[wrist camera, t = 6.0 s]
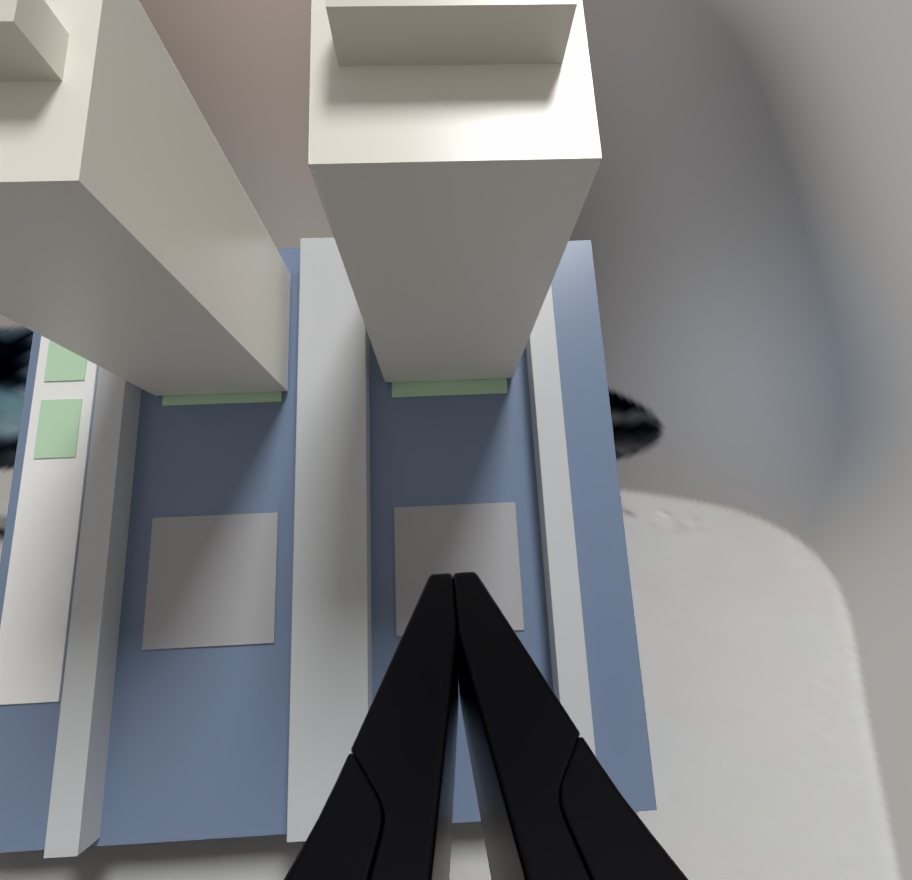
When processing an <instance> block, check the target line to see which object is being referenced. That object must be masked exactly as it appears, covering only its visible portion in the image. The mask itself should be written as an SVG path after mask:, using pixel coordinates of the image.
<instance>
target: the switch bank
mask: <svg viewBox="0 0 912 880" xmlns="http://www.w3.org/2000/svg"><path fill="white" fill-rule="evenodd" d="M277 250H278V252H279V254H280V255H281V257H282V259H283V261H284V263H285V264H286V266H287V268H288V270H289V272H290V273H291V284H290V320H289V357H288V391H281V392H253V393H225V394H197V395H169V396H154V395H153V394H151V393H149V392H147V391H145V390H143V389H141V388H139V387H137V386H136V385H134V384H132V383H130V382H128V381H126V380H124V379H122V378H121V377H119V376H117V375H115V374H113V373H111V372H109V371H107V370H105V369H104V368H102V367H100V366H98V365H96V364H94V363H92V362H90V361H88V360H87V359H85V358H83V357H81V356H79V355H77V354H75V353H73V352H71V351H70V350H68V349H66V348H64V347H62V346H60V345H58V344H56V343H54V342H53V341H51V340H49V339H47V338H45V337H43V336H41V335H39V334H38V333H36V332H34V333H33V340H32V347H31V354H30V361H29V368H28V375H27V382H26V389H25V396H24V403H23V410H22V417H21V423H20V430H19V437H18V444H17V451H16V458H15V465H14V472H13V479H12V486H11V493H10V500H9V507H8V513H7V520H6V527H5V534H4V541H3V548H2V555H1V562H0V853H4V852H19V851H35V850H44V858H57V857H72V856H78V855H80V854H81V853H82V852H83V851H84V850H85V849H87V848H88V847H96V846H112V845H127V844H142V843H158V842H173V841H188V840H204V839H219V838H234V837H250V836H265V835H280V834H287V842H300V841H306V840H307V838H308V836H309V834H310V832H311V831H312V829H313V827H314V825H315V823H316V821H317V820H318V818H319V816H320V814H321V812H322V809H323V807H324V805H325V803H326V801H327V799H328V797H329V795H330V793H331V791H332V789H333V787H334V785H335V783H336V781H337V778H338V776H339V774H340V772H341V770H342V767H343V765H344V763H345V761H346V759H347V756H348V755H349V754H352V752H351V748H352V746H353V744H354V741H355V739H356V737H357V735H358V733H359V730H360V728H361V726H362V724H363V721H364V719H365V717H366V715H367V713H368V710H369V708H370V706H371V704H372V701H373V699H374V697H375V695H376V693H377V690H378V688H379V686H380V684H381V682H382V679H383V677H384V675H385V673H386V670H387V668H388V666H389V664H390V662H391V659H392V657H393V655H394V653H395V650H396V648H397V646H398V644H399V642H400V639H401V637H402V635H403V633H404V631H405V628H406V626H407V624H408V622H409V619H410V617H411V615H412V613H413V611H414V608H415V606H416V604H417V602H418V599H419V597H420V595H421V593H422V591H423V588H424V586H425V584H426V582H427V580H428V578H429V576H430V575H432V574H442V573H450V574H452V576H454V574H455V573H459V572H475V573H476V574H477V575H478V576H479V577H480V579H481V581H482V582H483V584H484V585H485V587H486V588H487V590H488V591H489V593H490V594H491V596H492V598H493V599H494V601H495V602H496V604H497V605H498V607H499V608H500V610H501V611H502V613H503V615H504V616H505V618H506V619H507V621H508V622H509V624H510V625H511V627H512V628H513V630H514V632H515V633H516V635H517V636H518V638H519V639H520V641H521V642H522V644H523V645H524V647H525V649H526V650H527V652H528V653H529V655H530V656H531V658H532V659H533V661H534V662H535V664H536V666H537V667H538V669H539V670H540V672H541V673H542V675H543V676H544V678H545V679H546V681H547V683H548V684H549V686H550V687H551V689H552V690H553V692H554V693H555V695H556V696H557V698H558V700H559V701H560V703H561V704H562V706H563V707H564V709H565V710H566V712H567V713H568V715H569V717H570V718H571V720H572V721H573V723H574V724H575V726H576V727H577V729H578V730H579V732H580V736H579V737H583V738H584V739H585V741H586V742H587V744H588V745H589V747H590V749H591V750H592V752H593V753H594V755H595V756H596V758H597V759H598V761H599V762H600V764H601V765H602V767H603V768H604V770H605V771H606V773H607V774H608V775H609V777H610V778H611V780H612V781H613V783H614V784H615V786H616V787H617V789H618V790H619V791H620V793H621V794H622V796H623V797H624V798H625V800H626V801H627V802H628V804H629V805H630V806H631V807H632V809H633V810H634V811H649V810H657V809H656V800H655V791H654V783H653V774H652V765H651V757H650V748H649V739H648V731H647V722H646V713H645V705H644V696H643V687H642V679H641V670H640V662H639V653H638V644H637V636H636V627H635V618H634V610H633V601H632V592H631V584H630V575H629V566H628V558H627V549H626V540H625V532H624V523H623V514H622V506H621V497H620V489H619V480H618V471H617V463H616V454H615V445H614V437H613V428H612V419H611V411H610V402H609V393H608V385H607V377H606V368H605V359H604V350H603V342H602V333H601V324H600V316H599V307H598V298H597V290H596V281H595V273H594V264H593V256H592V246H591V241H590V240H589V241H588V240H586V241H568V243H567V246H566V248H565V251H564V253H563V256H562V258H561V261H560V263H559V266H558V268H557V270H556V273H555V275H554V278H553V280H552V283H551V285H550V288H549V290H548V293H547V295H546V298H545V300H544V303H543V305H542V307H541V310H540V312H539V315H538V317H537V320H536V322H535V325H534V327H533V330H532V332H531V335H530V337H529V340H528V342H527V344H526V347H525V349H524V352H523V354H522V357H521V359H520V362H519V364H518V367H517V369H516V372H515V374H514V377H513V378H494V379H466V380H438V381H410V382H385V381H384V378H383V375H382V372H381V369H380V367H379V364H378V361H377V358H376V355H375V352H374V349H373V347H372V344H371V341H370V338H369V335H368V332H367V330H366V327H365V324H364V321H363V318H362V315H361V313H360V310H359V307H358V304H357V301H356V298H355V295H354V293H353V290H352V287H351V284H350V281H349V278H348V276H347V273H346V270H345V267H344V264H343V261H342V258H341V256H340V253H339V250H338V247H337V244H336V241H335V239H334V238H302V239H301V248H280V249H277ZM458 691H459V684H458ZM480 821H481V817H480V812H479V806H478V800H477V795H476V789H475V784H474V778H473V772H472V767H471V761H470V755H469V750H468V744H467V739H466V733H465V727H464V722H463V716H462V710H461V703H460V695H459V707H458V728H457V746H456V764H455V782H454V800H453V818H452V823H464V822H480Z"/></svg>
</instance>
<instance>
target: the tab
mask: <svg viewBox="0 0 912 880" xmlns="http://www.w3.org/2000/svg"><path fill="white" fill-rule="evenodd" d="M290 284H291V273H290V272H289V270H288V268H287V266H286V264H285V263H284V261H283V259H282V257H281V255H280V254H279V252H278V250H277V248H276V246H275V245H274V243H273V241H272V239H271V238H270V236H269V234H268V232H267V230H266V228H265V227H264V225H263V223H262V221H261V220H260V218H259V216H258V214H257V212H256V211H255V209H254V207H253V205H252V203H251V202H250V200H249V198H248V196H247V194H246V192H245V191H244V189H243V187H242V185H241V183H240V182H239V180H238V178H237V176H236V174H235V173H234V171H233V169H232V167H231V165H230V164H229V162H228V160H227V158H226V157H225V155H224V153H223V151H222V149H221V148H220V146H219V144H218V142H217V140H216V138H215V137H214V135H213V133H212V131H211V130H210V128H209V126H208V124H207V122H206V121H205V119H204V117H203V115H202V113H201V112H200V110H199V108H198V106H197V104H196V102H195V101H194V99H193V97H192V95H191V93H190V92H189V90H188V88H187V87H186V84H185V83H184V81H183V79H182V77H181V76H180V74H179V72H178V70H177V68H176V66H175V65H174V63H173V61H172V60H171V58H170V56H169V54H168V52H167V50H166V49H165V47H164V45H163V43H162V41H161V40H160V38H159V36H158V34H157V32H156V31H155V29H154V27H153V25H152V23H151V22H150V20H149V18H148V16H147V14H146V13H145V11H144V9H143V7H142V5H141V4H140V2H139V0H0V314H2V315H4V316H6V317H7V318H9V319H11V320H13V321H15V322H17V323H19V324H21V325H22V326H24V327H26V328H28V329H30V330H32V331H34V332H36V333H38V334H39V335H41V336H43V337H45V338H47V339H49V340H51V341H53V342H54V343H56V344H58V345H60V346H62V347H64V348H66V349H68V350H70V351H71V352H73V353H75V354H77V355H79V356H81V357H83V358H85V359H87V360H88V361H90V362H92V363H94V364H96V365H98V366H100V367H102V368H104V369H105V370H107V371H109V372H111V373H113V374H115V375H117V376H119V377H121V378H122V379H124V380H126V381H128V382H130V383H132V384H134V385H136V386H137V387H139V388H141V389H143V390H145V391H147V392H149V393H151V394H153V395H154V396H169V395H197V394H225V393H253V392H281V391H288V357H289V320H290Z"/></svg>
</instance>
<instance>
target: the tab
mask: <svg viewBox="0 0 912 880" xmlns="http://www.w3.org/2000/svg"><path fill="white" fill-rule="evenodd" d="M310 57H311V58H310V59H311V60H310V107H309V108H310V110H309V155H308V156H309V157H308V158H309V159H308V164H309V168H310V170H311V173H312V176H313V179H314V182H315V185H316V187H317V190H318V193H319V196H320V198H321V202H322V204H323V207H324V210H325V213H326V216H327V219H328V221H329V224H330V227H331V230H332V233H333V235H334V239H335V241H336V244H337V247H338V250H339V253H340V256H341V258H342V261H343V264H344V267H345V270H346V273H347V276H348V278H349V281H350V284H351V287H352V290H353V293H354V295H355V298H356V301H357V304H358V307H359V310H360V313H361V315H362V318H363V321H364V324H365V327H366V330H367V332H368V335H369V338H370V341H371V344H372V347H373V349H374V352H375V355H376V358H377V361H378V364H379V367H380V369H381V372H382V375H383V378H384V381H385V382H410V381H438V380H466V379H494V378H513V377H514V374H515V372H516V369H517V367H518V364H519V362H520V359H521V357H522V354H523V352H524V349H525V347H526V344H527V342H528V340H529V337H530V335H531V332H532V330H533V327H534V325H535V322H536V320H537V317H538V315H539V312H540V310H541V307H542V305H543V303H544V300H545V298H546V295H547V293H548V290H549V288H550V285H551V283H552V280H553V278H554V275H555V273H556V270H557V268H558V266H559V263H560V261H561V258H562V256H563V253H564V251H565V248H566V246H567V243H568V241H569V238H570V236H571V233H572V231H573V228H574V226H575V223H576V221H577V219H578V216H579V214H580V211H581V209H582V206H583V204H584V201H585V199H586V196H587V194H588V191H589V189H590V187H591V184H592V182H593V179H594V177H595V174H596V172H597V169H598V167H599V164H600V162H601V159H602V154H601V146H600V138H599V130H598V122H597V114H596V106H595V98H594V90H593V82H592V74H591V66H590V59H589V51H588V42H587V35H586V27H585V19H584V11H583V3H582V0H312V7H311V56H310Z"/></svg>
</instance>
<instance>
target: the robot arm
mask: <svg viewBox="0 0 912 880" xmlns="http://www.w3.org/2000/svg"><path fill="white" fill-rule="evenodd" d="M458 684H459V691H458ZM459 695H460V703H461V710H462V716H463V722H464V727H465V733H466V739H467V744H468V750H469V755H470V761H471V767H472V772H473V778H474V784H475V789H476V795H477V800H478V806H479V812H480V817H481V823H482V828H483V834H484V840H485V845H486V851H487V857H488V862H489V868H490V873H491V879H492V880H688V879H687V877H686V876H685V875H684V874H683V872H682V871H681V870H680V869H679V867H678V866H677V865H676V864H675V862H674V861H673V860H672V859H671V857H670V856H669V855H668V854H667V852H666V851H665V850H664V849H663V847H662V846H661V845H660V844H659V842H658V841H657V840H656V839H655V837H654V836H653V835H652V834H651V832H650V831H649V830H648V828H647V827H646V826H645V825H644V823H643V822H642V821H641V819H640V818H639V817H638V815H637V814H636V813H635V811H634V810H633V809H632V807H631V806H630V805H629V804H628V802H627V801H626V800H625V798H624V797H623V796H622V794H621V793H620V791H619V790H618V789H617V787H616V786H615V784H614V783H613V781H612V780H611V778H610V777H609V775H608V774H607V773H606V771H605V770H604V768H603V767H602V765H601V764H600V762H599V761H598V759H597V758H596V756H595V755H594V753H593V752H592V750H591V749H590V747H589V745H588V744H587V742H586V741H585V739H584V738H583V737H579V736H580V732H579V730H578V729H577V727H576V726H575V724H574V723H573V721H572V720H571V718H570V717H569V715H568V713H567V712H566V710H565V709H564V707H563V706H562V704H561V703H560V701H559V700H558V698H557V696H556V695H555V693H554V692H553V690H552V689H551V687H550V686H549V684H548V683H547V681H546V679H545V678H544V676H543V675H542V673H541V672H540V670H539V669H538V667H537V666H536V664H535V662H534V661H533V659H532V658H531V656H530V655H529V653H528V652H527V650H526V649H525V647H524V645H523V644H522V642H521V641H520V639H519V638H518V636H517V635H516V633H515V632H514V630H513V628H512V627H511V625H510V624H509V622H508V621H507V619H506V618H505V616H504V615H503V613H502V611H501V610H500V608H499V607H498V605H497V604H496V602H495V601H494V599H493V598H492V596H491V594H490V593H489V591H488V590H487V588H486V587H485V585H484V584H483V582H482V581H481V579H480V577H479V576H478V575H477V574H476V573H475V572H459V573H455V574H454V576H452V574H450V573H442V574H432V575H430V576H429V578H428V580H427V582H426V584H425V586H424V588H423V591H422V593H421V595H420V597H419V599H418V602H417V604H416V606H415V608H414V611H413V613H412V615H411V617H410V619H409V622H408V624H407V626H406V628H405V631H404V633H403V635H402V637H401V639H400V642H399V644H398V646H397V648H396V650H395V653H394V655H393V657H392V659H391V662H390V664H389V666H388V668H387V670H386V673H385V675H384V677H383V679H382V682H381V684H380V686H379V688H378V690H377V693H376V695H375V697H374V699H373V701H372V704H371V706H370V708H369V710H368V713H367V715H366V717H365V719H364V721H363V724H362V726H361V728H360V730H359V733H358V735H357V737H356V739H355V741H354V744H353V746H352V748H351V752H352V754H349V755H348V756H347V759H346V761H345V763H344V765H343V767H342V770H341V772H340V774H339V776H338V778H337V781H336V783H335V785H334V787H333V789H332V791H331V793H330V795H329V797H328V799H327V801H326V803H325V805H324V807H323V809H322V812H321V814H320V816H319V818H318V820H317V821H316V823H315V825H314V827H313V829H312V831H311V832H310V834H309V836H308V838H307V840H306V841H305V843H304V845H303V847H302V849H301V851H300V852H299V854H298V856H297V858H296V860H295V862H294V863H293V865H292V867H291V868H290V870H289V872H288V874H287V875H286V877H285V879H284V880H449V872H450V854H451V836H452V818H453V800H454V782H455V764H456V746H457V728H458V707H459Z"/></svg>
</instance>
